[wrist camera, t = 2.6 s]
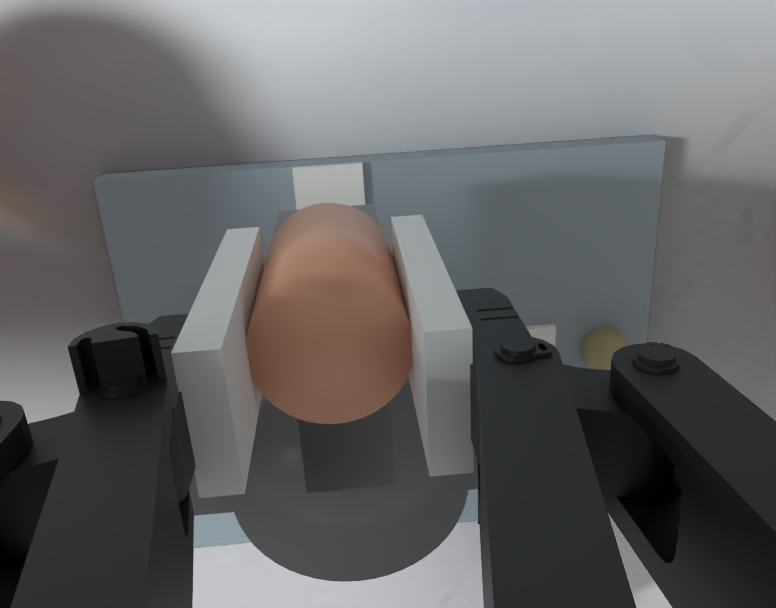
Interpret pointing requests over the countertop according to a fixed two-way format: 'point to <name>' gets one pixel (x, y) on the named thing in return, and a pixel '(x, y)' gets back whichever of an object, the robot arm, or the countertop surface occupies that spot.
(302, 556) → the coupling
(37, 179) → the countertop surface
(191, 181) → the lock base
